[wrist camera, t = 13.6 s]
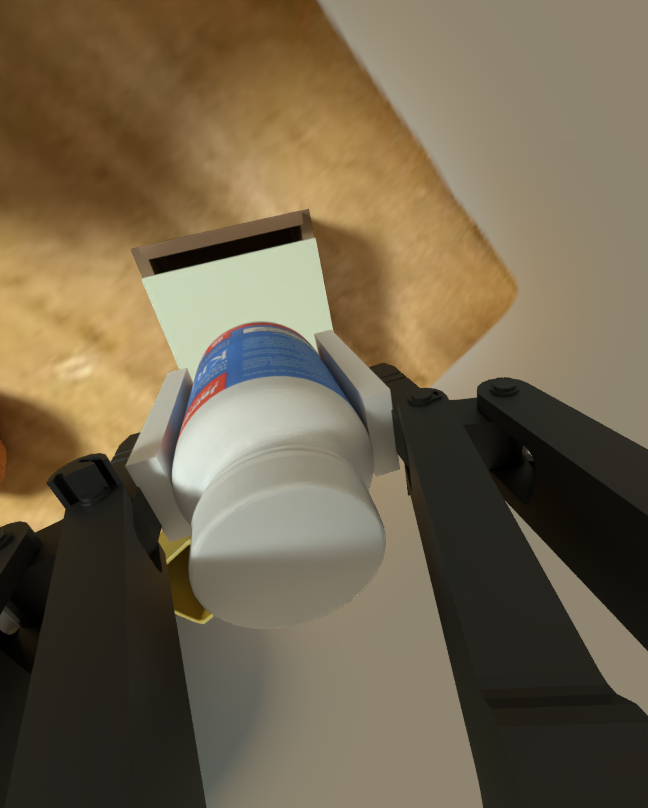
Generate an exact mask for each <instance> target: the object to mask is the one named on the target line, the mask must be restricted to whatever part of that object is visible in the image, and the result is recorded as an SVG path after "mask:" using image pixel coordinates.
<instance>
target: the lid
mask: <svg viewBox="0 0 648 808" xmlns="http://www.w3.org/2000/svg"><path fill="white" fill-rule="evenodd" d="M141 280H142V282H143V285H144V287H145V290H146V292H147V294H148V297H149V299H150V301H151V304H152V306H153V308H154V311H155V313H156V315H157V318H158V320H159V323H160V325H161V327H162V330H163V332H164V334H165V337H166V339H167V341H168V344H169V346H170V348H171V351H172V353H173V356H174V358H175V360H176V363H177V365H178V367H179V370H180V369H183V368H187V369H188V371H189V374H190V376H191V379H192V381H193V383H194V379H195V375H196V371H197V368H198V365H199V362H200V360H201V358H202V356H203V354H204V352H205V351H206V349H207V348H208V347H209V345H210V344H211V343H212V342H213V341H214V340H215V339H216V338H217V337H218V336H219V335H221V334H222V333H223V332H225V331H227V330H229V329H230V328H233V327H235V326H237V325H240V324H244V323H248V322H255V321H266V322H273V323H278V324H281V325H284V326H287V327H289V328H291V329H293V330H294V331H296V332H298V333H299V334H300V335H302V336H303V337H304V338H305V339H306V340H307V341H308V342H309V343H310V344H311V345H312V346H313V348H314V349H315V350H316V351H317V353H318V350H317V346H316V341H315V337H314V334H315V333H319V332H323V331H327V330H332V331H333V327H332V322H331V317H330V311H329V306H328V301H327V296H326V290H325V285H324V280H323V275H322V269H321V264H320V259H319V254H318V248H317V243H316V238H310V239H306V240H301V241H297V242H293V243H289V244H284V245H280V246H276V247H271V248H267V249H263V250H259V251H254V252H250V253H246V254H241V255H237V256H233V257H229V258H224V259H220V260H216V261H212V262H207V263H203V264H199V265H194V266H190V267H186V268H182V269H177V270H173V271H169V272H164V273H160V274H156V275H152V276H147V277H143V278H141Z"/></svg>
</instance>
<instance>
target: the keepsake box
mask: <svg viewBox="0 0 648 808" xmlns="http://www.w3.org/2000/svg"><path fill="white" fill-rule="evenodd" d="M310 238H314V233H313V228H312V223H311V218H310V212H309V209H307V210H302V211H296V212H292V213H288V214H283V215H279V216H274V217H270V218H265V219H261V220H256V221H252V222H247V223H243V224H238V225H234V226H230V227H225V228H221V229H216V230H212V231H207V232H203V233H198V234H194V235H189V236H185V237H180V238H176V239H172V240H167V241H163V242H158V243H154V244H149V245H145V246H140V247H137V248H133V249H131V252H132V254H133V256H134V259H135V261H136V263H137V266H138V268H139V271H140V273H141V275H142V278H143V277H147V276H152V275H156V274H160V273H164V272H169V271H173V270H177V269H182V268H186V267H190V266H194V265H199V264H203V263H207V262H212V261H216V260H220V259H224V258H229V257H233V256H237V255H241V254H246V253H250V252H254V251H259V250H263V249H267V248H271V247H276V246H280V245H284V244H289V243H293V242H297V241H301V240H306V239H310Z"/></svg>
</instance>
